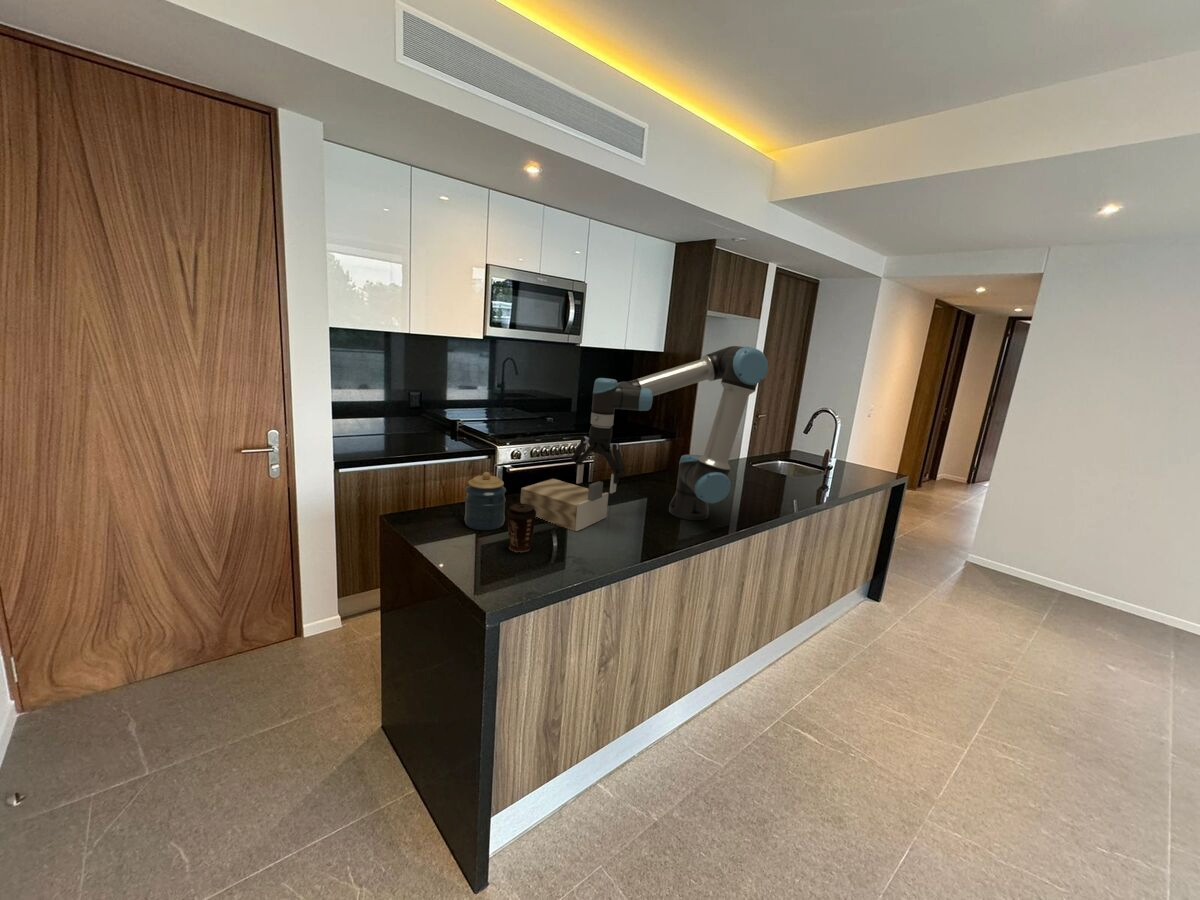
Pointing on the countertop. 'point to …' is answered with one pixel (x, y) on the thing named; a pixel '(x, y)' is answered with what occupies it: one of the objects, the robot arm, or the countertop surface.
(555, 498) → the mailer sleeve
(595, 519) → the tray
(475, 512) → the canister
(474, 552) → the countertop surface
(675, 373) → the robot arm
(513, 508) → the coffee cup
